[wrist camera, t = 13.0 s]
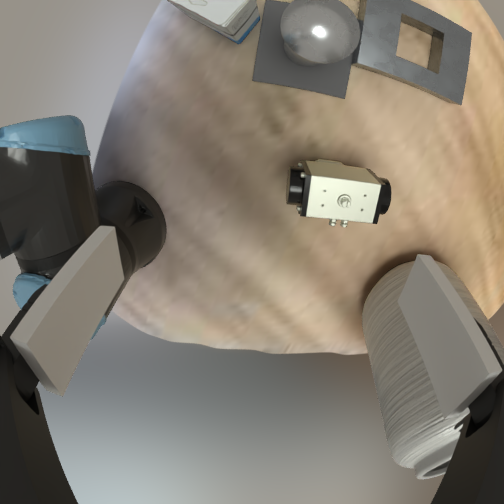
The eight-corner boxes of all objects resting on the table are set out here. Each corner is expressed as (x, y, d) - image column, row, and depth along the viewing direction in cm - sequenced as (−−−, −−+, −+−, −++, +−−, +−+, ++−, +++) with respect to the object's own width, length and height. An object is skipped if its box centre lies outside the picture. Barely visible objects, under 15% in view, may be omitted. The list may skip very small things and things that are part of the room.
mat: (252, 80, 33) (252, 80, 32) (266, 0, 26) (266, -1, 26) (343, 98, 33) (344, 98, 33) (357, 20, 27) (358, 19, 26)
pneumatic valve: (287, 150, 38) (292, 176, 28) (369, 161, 37) (401, 190, 27) (283, 188, 41) (286, 227, 30) (362, 197, 40) (389, 237, 30)
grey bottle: (275, 65, 31) (275, 54, 20) (283, 18, 27) (286, -13, 16) (328, 75, 31) (353, 71, 20) (336, 29, 27) (364, 6, 16)
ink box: (262, 19, 28) (257, -8, 18) (238, 45, 30) (224, 29, 20) (209, -10, 26) (185, -41, 16) (187, 16, 28) (154, -6, 18)
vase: (445, 313, 51) (501, 449, 23) (360, 339, 56) (387, 494, 28) (453, 233, 42) (559, 390, 13) (348, 262, 46) (400, 468, 18)
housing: (350, 64, 30) (357, 62, 27) (361, -9, 24) (368, -16, 21) (448, 102, 31) (461, 105, 28) (459, 34, 24) (471, 33, 21)
